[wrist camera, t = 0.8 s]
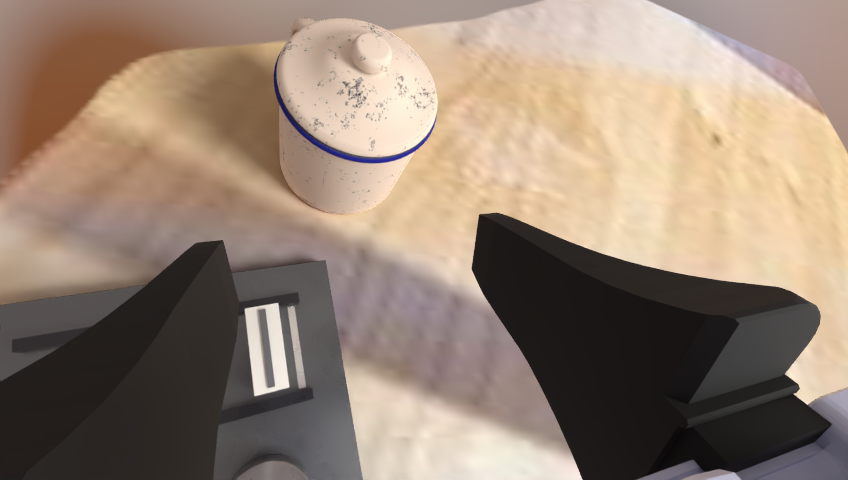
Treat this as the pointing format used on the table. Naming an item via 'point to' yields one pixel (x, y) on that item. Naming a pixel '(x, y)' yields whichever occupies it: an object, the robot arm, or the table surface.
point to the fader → (266, 349)
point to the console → (237, 374)
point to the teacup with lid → (349, 112)
